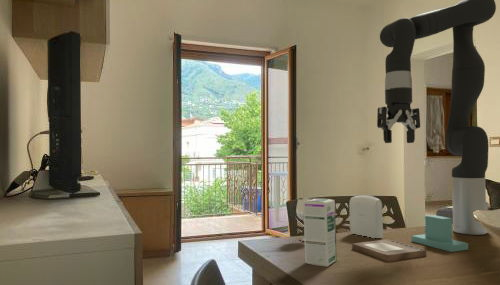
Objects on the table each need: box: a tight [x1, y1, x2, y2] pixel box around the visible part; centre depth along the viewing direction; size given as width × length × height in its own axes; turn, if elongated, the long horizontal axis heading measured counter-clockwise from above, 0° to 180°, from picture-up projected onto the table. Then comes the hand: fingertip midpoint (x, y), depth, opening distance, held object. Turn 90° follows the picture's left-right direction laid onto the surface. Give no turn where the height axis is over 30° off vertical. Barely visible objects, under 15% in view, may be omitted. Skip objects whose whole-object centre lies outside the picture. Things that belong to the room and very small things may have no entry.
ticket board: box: [351, 238, 427, 262], centre depth 99 cm, size 12×13×2 cm
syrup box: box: [303, 198, 338, 267], centre depth 91 cm, size 6×6×14 cm
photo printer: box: [348, 194, 384, 239], centre depth 119 cm, size 10×4×12 cm, turn 39°
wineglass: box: [295, 197, 314, 240], centre depth 114 cm, size 6×6×12 cm
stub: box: [411, 214, 469, 253], centre depth 106 cm, size 6×13×8 cm, turn 23°
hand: (399, 142), depth 116 cm, fingers open, 8 cm apart
